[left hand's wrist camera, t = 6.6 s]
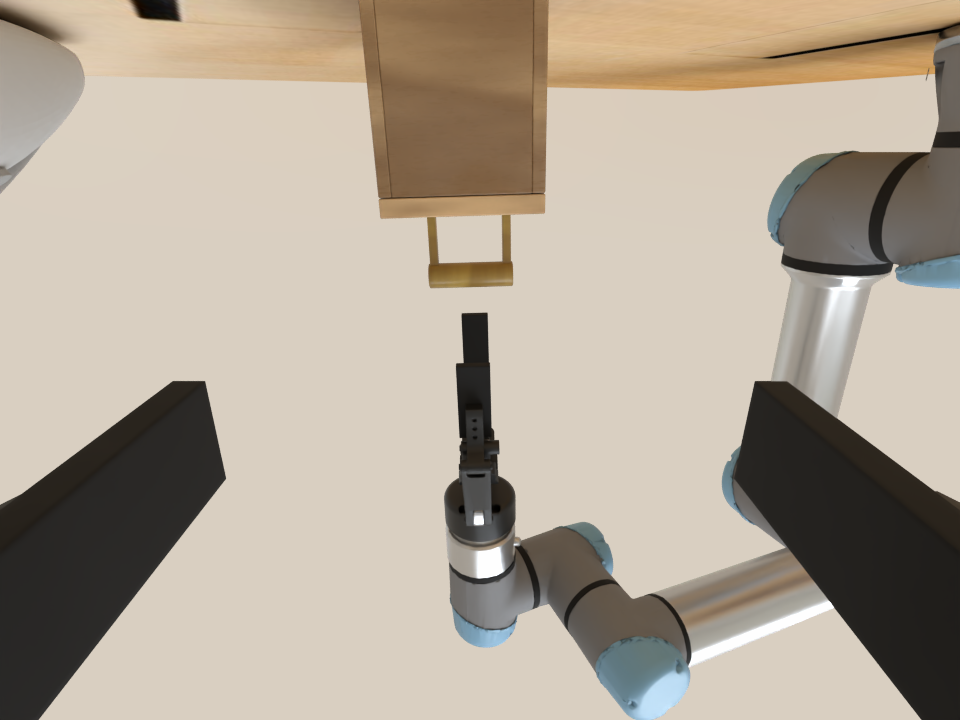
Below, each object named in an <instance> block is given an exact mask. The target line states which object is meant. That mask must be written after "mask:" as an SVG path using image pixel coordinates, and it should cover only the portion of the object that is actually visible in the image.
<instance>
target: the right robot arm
mask: <svg viewBox="0 0 960 720" xmlns="http://www.w3.org/2000/svg"><path fill="white" fill-rule="evenodd" d="M933 62H934V65H935V80H936V94H937V104H938V114H939V122H938V127H937V131H936V135H935V139H934V142H933V146H932V148H931V152H858V151H844V152H840V153H829V154H820V155H816V156H813V157H810V158H808V159H806V160H805V161H803V162H801V163H800V164H799V165H797V166H796V167H795V168H794V169H793V170H792V172H791V173H790V174H789V175H787V176H786V177H785V179H784V180H783V181H782V183H781V184H780V186H779V187H778V189H777V191H776V193H775V195H774V197H773V199H772V202H771V205H770V208H769V212H768V230H769V232H771V237H772V239H773V240H774V241H775V242H777V243H778V244H779V245H780V246H784V250H783V255H782V261H781V266H782V267H783V268H784V270H785V271H786V272H787V273H788V274H789V275H790V277H791V283H790V288H789V293H788V298H787V303H786V308H785V313H784V318H783V323H782V328H781V333H780V338H779V343H778V348H777V353H776V358H775V363H774V368H773V373H772V378H771V381H788V382H789V383H790V384H792V385H793V386H794V387H796V388H797V389H798V390H800V391H801V392H802V393H804V394H805V395H806V396H808V397H809V398H810V399H812V400H813V401H814V402H816V403H817V404H818V405H820V406H821V407H822V408H824V409H825V410H826V411H828V412H829V413H830V414H832V415H833V416H834V417H836V418H837V416H838V412H839V408H840V405H841V401H842V397H843V393H844V389H845V385H846V381H847V378H848V374H849V370H850V366H851V362H852V359H853V355H854V351H855V347H856V343H857V340H858V336H859V332H860V328H861V324H862V320H863V317H864V313H865V309H866V305H867V301H868V297H869V294H870V290H871V286H872V285H873V284H874V283H876V282H878V281H880V280H881V279H883V278H885V277H886V276H888V275H890V273H891V270H892V267H893V264H898V265H899V267H897V268H896V270H895V272H896V278H897V280H899V281H900V282H904V283H906V284H910V285H916V286H925V287H936V288H956V289H960V25H958V26H955V27H952V28H949V29H946V30H944V31H942V32H940V33H939V34H938V38H937V42H936V45H935V49H934V59H933ZM928 72H929V70H928ZM927 76H928V73H927ZM926 79H927V77H926ZM462 336H463V358H464V363H457V364H456V377H457V396H458V415H459V434H460V438H462V441H461V445H460V451H461V455H460V464H459V470H460V471H459V478H458V479H456V480H455V481H453V482H452V483H451V484H450V485H449V486H448V488H447V490H446V492H445V496H444V503H445V518H446V540H447V554H448V560H449V571H450V603H451V605H452V609H453V617H454V623H455V628H456V630H457V631H458V633H459V635H460V636H461V637H462V638H463V639H464V640H465V641H467V642H468V643H470V644H472V645H474V646H478V647H494V646H497V645H499V644H502V643H503V642H505V641H506V639H508V637H509V636H510V635H511V634H512V633H513V631H514V629H515V625H516V622H517V621H516V620H517V615H519V614H521V613H524V612H527V611H529V610H532V609H534V608H537V607H539V606H542V605H546V604H550V606H551V607H552V609H553V610H554V612H555V613H556V614H557V616H558V617H559V619H560V620H561V622H562V623H563V625H564V626H565V628H566V629H567V630H568V632H569V633H570V634H571V636H572V637H573V638H574V640H575V641H576V643H577V644H578V646H579V647H580V649H581V650H582V652H583V654H584V655H585V657H586V658H587V660H588V661H589V663H590V664H591V666H592V667H593V669H594V670H595V672H596V674H597V677H598V679H599V680H600V682H601V684H602V685H603V686H604V687H605V688H606V689H607V690H608V691H609V693H610V694H611V695H612V696H613V698H614V699H615V700H616V702H617V703H618V704H619V705H620V707H621V708H622V709H623V711H624V712H625V713H626V714H627V715H628V716H630V717H631V718H633V719H636V720H653V719H656V718H658V717H660V716H662V715H664V714H665V713H666V711H667V710H668V709H669V708H670V707H673V706H675V705H676V704H677V703H678V702H679V701H680V700H681V698H682V697H683V695H684V694H685V692H686V690H687V688H688V686H689V682H690V670H689V668H690V667H692V666H695V665H697V664H700V663H702V662H704V661H707V660H709V659H712V658H714V657H716V656H719V655H721V654H724V653H726V652H729V651H731V650H733V649H736V648H738V647H741V646H743V645H745V644H748V643H750V642H753V641H755V640H758V639H760V638H762V637H765V636H767V635H770V634H772V633H774V632H777V631H779V630H782V629H784V628H786V627H789V626H791V625H794V624H796V623H799V622H801V621H803V620H806V619H808V618H811V617H813V616H816V615H818V614H820V613H823V612H825V611H828V610H830V609H833V608H834V607H833V605H832V604H831V603H830V601H829V600H828V599H827V598H826V596H825V595H824V594H823V592H822V591H821V590H820V589H819V587H818V586H817V585H816V583H815V582H814V581H813V580H812V578H811V577H810V576H809V574H808V573H807V572H806V571H805V569H804V568H803V567H802V565H801V564H800V563H799V562H798V560H797V559H796V558H795V556H794V555H793V554H792V553H791V551H790V550H789V549H788V547H787V546H786V545H785V544H784V542H783V541H782V540H781V538H780V537H779V536H778V535H777V533H776V532H775V531H774V529H773V528H772V527H771V526H770V524H769V523H768V522H767V520H766V519H765V518H764V517H763V515H762V514H761V513H760V511H759V510H758V509H757V508H756V506H755V505H754V504H753V502H752V501H751V500H750V499H749V497H748V496H747V495H746V493H745V492H744V491H743V490H742V488H741V487H740V486H739V484H738V483H737V482H736V481H735V479H734V476H735V471H736V467H737V462H738V457H739V453H740V448H741V446H740V447H739V448H738V449H736V450H735V451H734V453H733V454H732V455H731V457H732V459H731V461H728V462H727V464H726V465H725V468H724V472H723V476H722V490H723V494H724V496H725V499H726V501H727V502H728V504H729V505H730V506H731V507H732V508H733V509H735V510H736V511H737V512H738V513H739V514H740V515H741V516H742V517H743V518H744V519H745V520H746V521H748V522H750V523H751V524H753V525H757V526H758V527H759V528H761V529H762V530H763V531H765V532H766V533H767V534H769V535H770V536H771V537H773V538H774V539H775V540H777V541H778V542H779V543H781V544H782V545H783V546H785V547H786V548H784V549H781V550H778V551H775V552H772V553H770V554H766V555H763V556H760V557H758V558H755V559H752V560H749V561H746V562H743V563H740V564H737V565H734V566H731V567H728V568H725V569H722V570H719V571H716V572H714V573H711V574H708V575H705V576H702V577H699V578H696V579H693V580H690V581H687V582H684V583H681V584H678V585H675V586H672V587H669V588H666V589H664V590H661V591H658V592H655V593H652V594H648V595H645V596H642V597H639V598H636V599H632V598H630V596H629V595H628V594H627V593H626V592H625V591H624V590H623V589H622V588H621V586H620V585H619V584H618V583H617V582H616V581H615V579H614V578H613V577H612V576H611V574H612V571H613V558H612V554H611V551H610V548H609V545H608V544H607V543H606V542H605V540H604V537H603V535H602V533H601V532H600V531H599V530H598V529H597V528H596V527H595V526H594V525H592V524H590V523H587V522H580V523H576V524H572V525H568V526H564V527H563V526H559V527H557V528H555V529H553V530H550V531H547V532H545V533H542V534H539V535H536V536H533V537H530V538H527V539H525V540H522V541H521V539H520V538H519V537H515V491H514V489H513V487H512V486H511V484H510V483H509V482H508V481H506V480H505V479H503V478H502V477H499V476H498V464H497V454H499V440H494V430H493V429H492V428H491V390H490V363H489V352H488V314H487V313H462Z"/></svg>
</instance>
